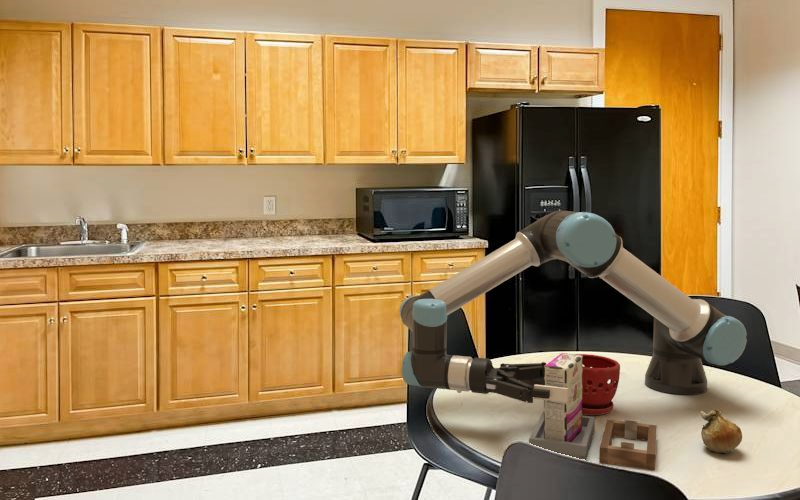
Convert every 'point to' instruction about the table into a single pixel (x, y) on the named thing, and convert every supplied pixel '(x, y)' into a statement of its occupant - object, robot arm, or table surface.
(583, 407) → the plant pot
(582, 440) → the tray
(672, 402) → the table surface
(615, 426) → the brown rectangular open box
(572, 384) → the candy bar box
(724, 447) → the onion
